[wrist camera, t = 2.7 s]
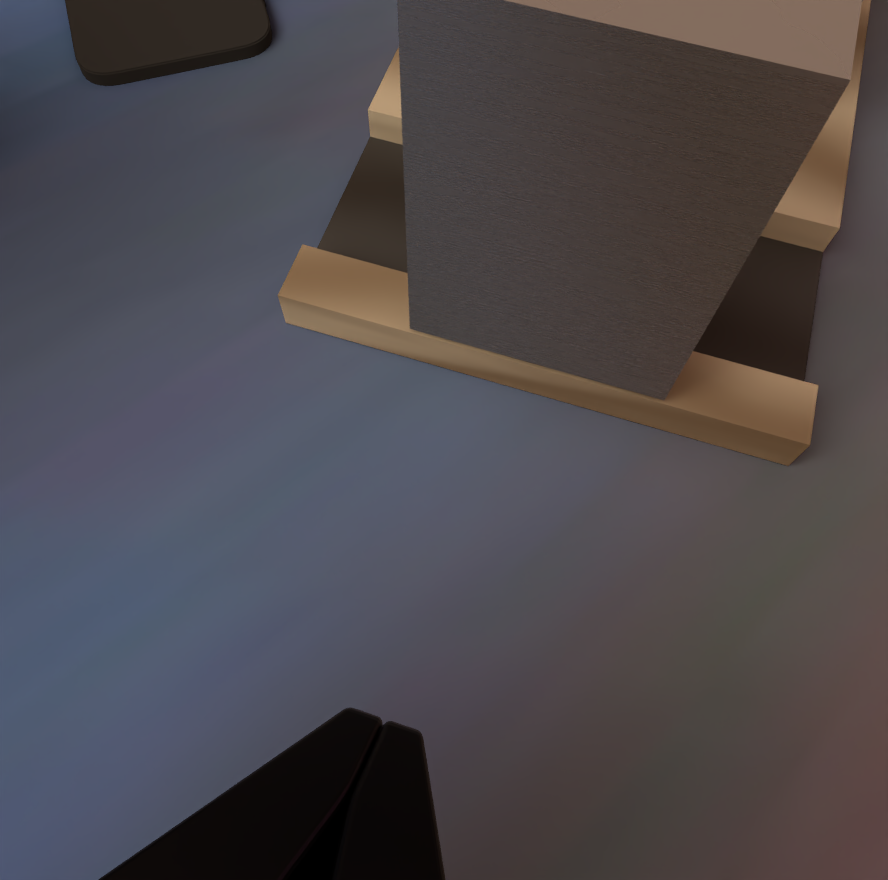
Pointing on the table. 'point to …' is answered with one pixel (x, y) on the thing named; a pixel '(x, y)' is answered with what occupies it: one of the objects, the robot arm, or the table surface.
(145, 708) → the table surface
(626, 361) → the steel sled
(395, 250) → the tunnel deck
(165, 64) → the phone
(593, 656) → the table surface
